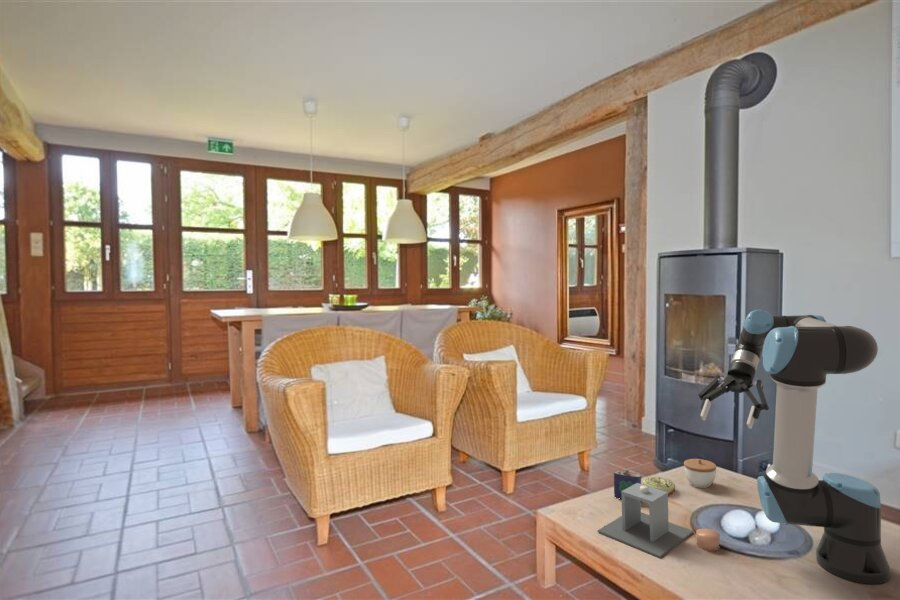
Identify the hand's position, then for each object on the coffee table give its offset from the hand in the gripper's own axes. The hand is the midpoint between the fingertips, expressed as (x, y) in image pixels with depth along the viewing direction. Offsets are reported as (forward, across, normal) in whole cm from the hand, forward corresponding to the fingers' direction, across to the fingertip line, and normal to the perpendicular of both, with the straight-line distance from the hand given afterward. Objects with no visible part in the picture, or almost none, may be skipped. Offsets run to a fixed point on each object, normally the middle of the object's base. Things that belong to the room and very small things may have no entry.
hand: (725, 422), depth 158 cm
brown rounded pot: (+35, -2, -9) cm, 37 cm away
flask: (+27, +30, -17) cm, 44 cm away
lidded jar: (+7, +18, -38) cm, 42 cm away
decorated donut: (+18, +26, -27) cm, 41 cm away
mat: (+39, +14, -5) cm, 42 cm away
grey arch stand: (+39, +14, -5) cm, 42 cm away
